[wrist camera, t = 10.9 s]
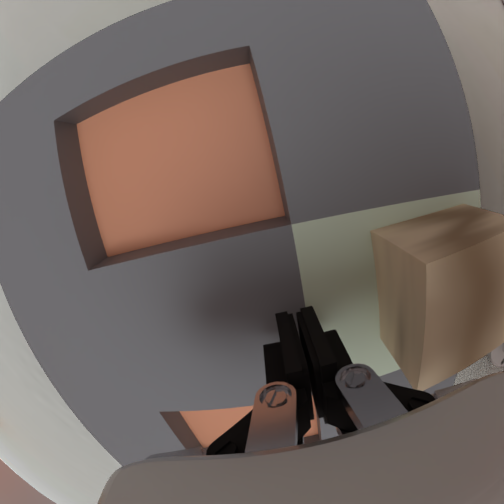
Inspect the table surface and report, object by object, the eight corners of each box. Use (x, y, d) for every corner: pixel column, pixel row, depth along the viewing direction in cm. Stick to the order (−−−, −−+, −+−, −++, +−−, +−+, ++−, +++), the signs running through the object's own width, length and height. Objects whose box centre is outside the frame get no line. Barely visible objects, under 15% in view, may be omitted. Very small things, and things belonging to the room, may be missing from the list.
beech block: (463, 203, 11) (524, 222, 6) (462, 302, 12) (507, 339, 8) (370, 230, 11) (426, 264, 7) (380, 338, 13) (416, 393, 9)
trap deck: (405, 10, 9) (423, -5, 7) (423, 417, 19) (432, 433, 17) (-6, 131, 11) (-28, 131, 9) (139, 460, 21) (134, 476, 19)
